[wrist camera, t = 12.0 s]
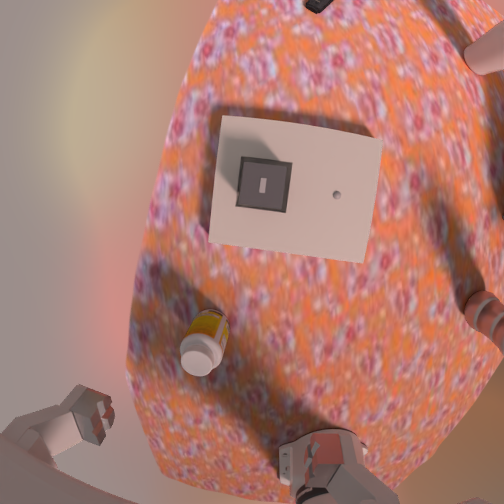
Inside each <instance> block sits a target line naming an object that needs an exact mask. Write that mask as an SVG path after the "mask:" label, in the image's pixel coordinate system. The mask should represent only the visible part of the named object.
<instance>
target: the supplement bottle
mask: <svg viewBox="0 0 504 504" xmlns="http://www.w3.org/2000/svg"><path fill="white" fill-rule="evenodd" d="M229 332H230V324H229V321H228V319H227V318H226V316H225V315H223V314H222V313H221V312H219V311H216V310H212V309H208V310H203V311H201V312H199V313H198V314H197V315H196V317H195V318H194V320H193V322H192V324H191V326H190V327H189V329H188V331H187V333H186V335H185V337H184V339H183V341H182V343H181V345H180V354H181V365H182V367H183V368H184V370H185V371H186V372H188V373H189V374H191V375H194V376H205V375H207V374H209V373H210V372H211V370H212V369H214V368H216V367H217V366H218V365H219V364H220V362H221V360H222V357H223V354H224V350H225V347H226V343H227V339H228V336H229Z"/></svg>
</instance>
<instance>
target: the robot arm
mask: <svg viewBox="0 0 504 504" xmlns="http://www.w3.org/2000/svg"><path fill="white" fill-rule="evenodd" d="M111 403H112V400H111V397H110V396H108V395H106V394H103V393H101V392H98V391H95V390H93V389H90V388H88V387H85V386H83V385H80V384H79V385H77V386H76V387H75V388H74V389H73V390H72V391H71V392H70V394H69V395H68V396H67V397H66V399H65V400H64V401H63V402H62V403H61V404H60V406H58V405H54V406H52V407H48V408H45V409H42V410H39V411H36V412H33V413H30V414H27V415H23V416H20V417H16V418H15V419H14V420H13V421H12V422H11V423H10V424H9V425H8V426H7V428H6V429H5V430H4V431H3V432H2V433H1V434H0V504H138V503H135V502H132V501H129V500H126V499H123V498H121V497H118V496H115V495H112V494H110V493H108V492H105V491H103V490H100V489H98V488H95V487H93V486H91V485H89V484H86V483H84V482H82V481H80V480H78V479H75V478H74V477H72V476H69V475H67V474H65V473H64V472H62V471H60V470H57V468H58V467H57V464H56V463H55V461H54V460H53V458H52V456H54V455H56V454H58V453H60V452H62V451H64V450H66V449H68V448H70V447H72V446H73V445H75V444H77V443H79V442H81V441H82V439H83V440H86V441H88V442H91V443H93V444H96V445H99V446H100V445H101V443H102V442H103V440H104V438H105V437H106V434H105V431H106V430H108V429H110V428H111V426H112V425H113V422H114V417H115V414H114V409H113V408H112V407H111V406H110V404H111ZM367 452H368V447H367V446H365V445H364V444H362V443H360V441H359V439H358V437H357V436H356V435H355V434H354V433H352V432H349V431H346V430H341V429H327V430H321V431H316V432H313V433H310V434H307V435H305V436H303V437H301V438H300V439H298V440H296V441H295V442H292V443H288V444H285V445H282V446H280V447H279V473H280V482H281V483H282V484H285V485H289V486H290V496H292V497H293V498H296V504H400V503H399V499H398V495H397V494H396V493H394V492H393V491H392V490H391V489H390V488H389V487H387V486H386V485H385V484H384V483H383V482H382V481H380V480H379V479H378V478H377V477H376V476H375V475H373V474H372V473H371V472H370V471H369V470H368V469H367V468H366V467H365V461H364V456H365V455H366V453H367ZM457 504H492V503H490V502H488V501H486V500H484V499H481V498H477V497H476V498H471V499H468V500H466V501H463V502H461V503H457Z"/></svg>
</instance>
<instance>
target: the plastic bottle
mask: <svg viewBox="0 0 504 504" xmlns="http://www.w3.org/2000/svg"><path fill="white" fill-rule="evenodd" d="M465 319H466V321H467V323H468V324H469V326H470V327H471V328H473V329H475V330H476V331H478V332H481V333H482V334H484V335H485V336H486V337H488V338H489V339H490V340H491V341H492V342H493V343H494V344H495V345H496V346H497V347H498V348H499V350H500V351H501V352H502V354H503V355H504V305H503V304H502V303H501V302H500V301H499V299H498V298H497V297H496V296H495V295H494V294H493V293H491V292H488V291H479V292H477V293H475V294H473V295H472V296H471V297H470V298H469V300H468V302H467V304H466V306H465Z"/></svg>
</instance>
